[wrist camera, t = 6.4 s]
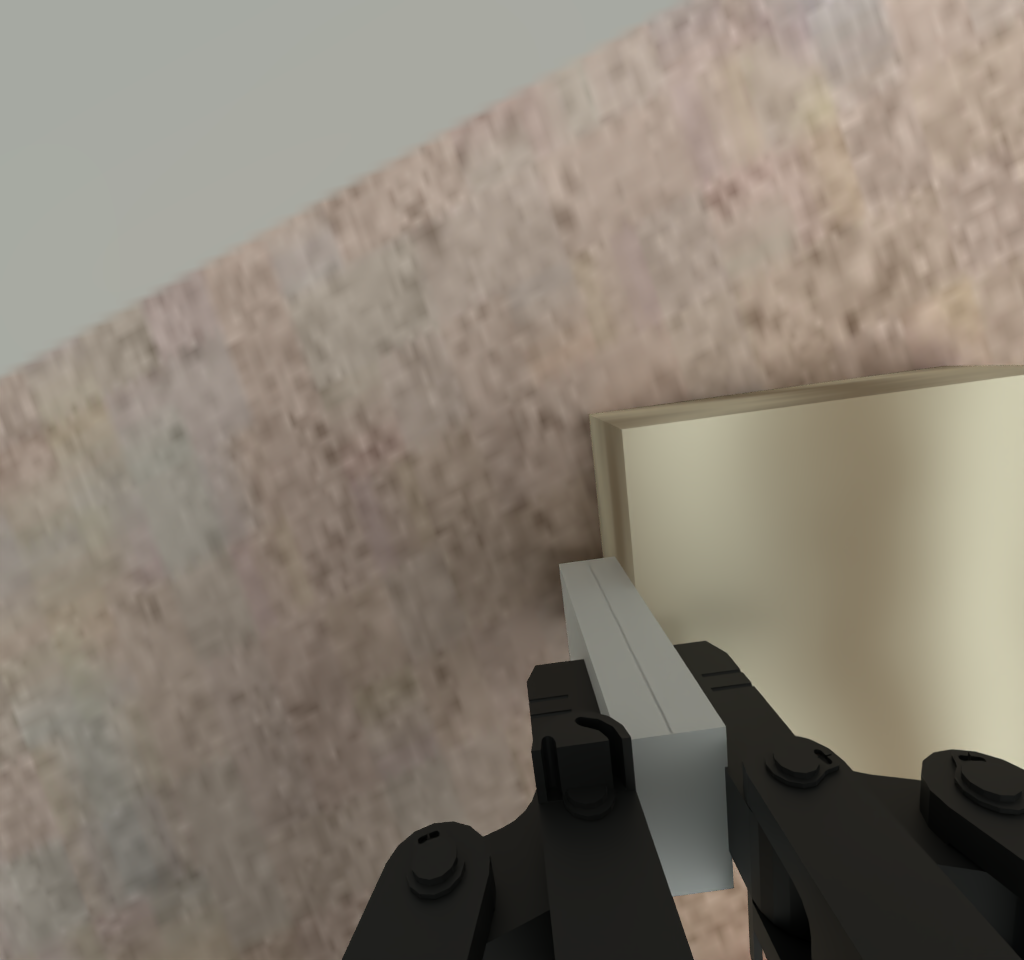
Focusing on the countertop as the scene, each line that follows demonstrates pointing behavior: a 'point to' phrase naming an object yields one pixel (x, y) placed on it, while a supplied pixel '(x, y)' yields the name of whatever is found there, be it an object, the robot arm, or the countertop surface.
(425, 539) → the countertop surface
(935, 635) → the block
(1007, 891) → the robot arm
